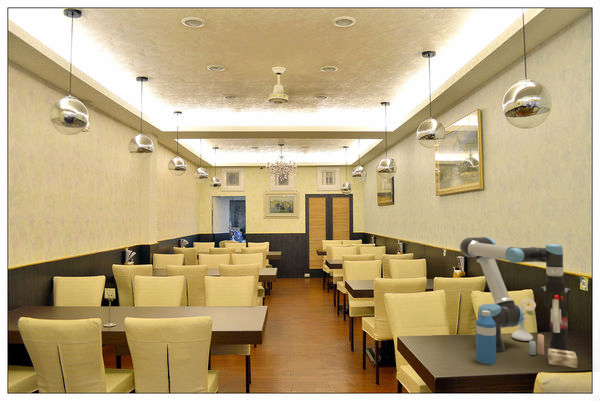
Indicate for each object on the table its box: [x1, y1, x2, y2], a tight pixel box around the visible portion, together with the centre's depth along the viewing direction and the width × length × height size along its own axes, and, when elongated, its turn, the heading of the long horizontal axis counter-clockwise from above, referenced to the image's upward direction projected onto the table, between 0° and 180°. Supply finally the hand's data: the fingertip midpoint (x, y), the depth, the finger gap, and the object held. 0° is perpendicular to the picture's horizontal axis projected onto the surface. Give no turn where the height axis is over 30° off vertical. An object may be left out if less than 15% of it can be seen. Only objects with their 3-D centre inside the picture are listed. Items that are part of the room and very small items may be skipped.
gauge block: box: [547, 347, 578, 369], centre depth 218 cm, size 12×12×4 cm
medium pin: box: [537, 333, 545, 356], centre depth 232 cm, size 3×3×10 cm
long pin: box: [551, 298, 560, 333], centre depth 218 cm, size 3×3×16 cm
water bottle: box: [475, 310, 497, 365], centre depth 219 cm, size 9×9×25 cm
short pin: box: [528, 340, 537, 356], centre depth 230 cm, size 3×3×7 cm
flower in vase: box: [511, 297, 537, 342], centre depth 258 cm, size 13×11×25 cm
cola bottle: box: [549, 294, 569, 351], centre depth 238 cm, size 8×8×30 cm
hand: (556, 322), depth 218 cm, fingers closed on long pin, 3 cm apart
